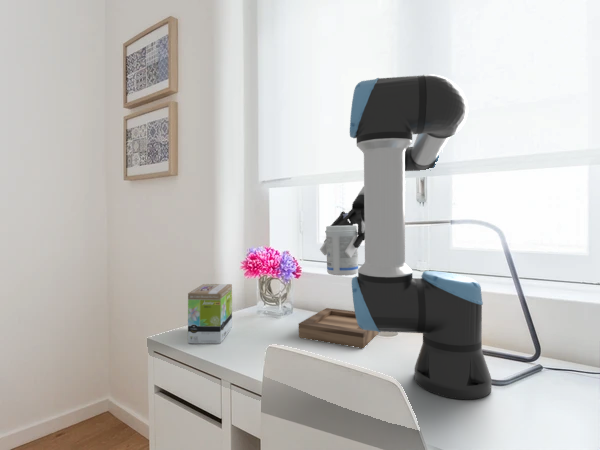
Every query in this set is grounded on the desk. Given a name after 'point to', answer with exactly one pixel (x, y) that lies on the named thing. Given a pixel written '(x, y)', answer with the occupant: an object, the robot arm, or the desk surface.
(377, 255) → the robot arm
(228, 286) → the tea box
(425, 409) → the desk surface
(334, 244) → the supplement tub
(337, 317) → the walnut base
